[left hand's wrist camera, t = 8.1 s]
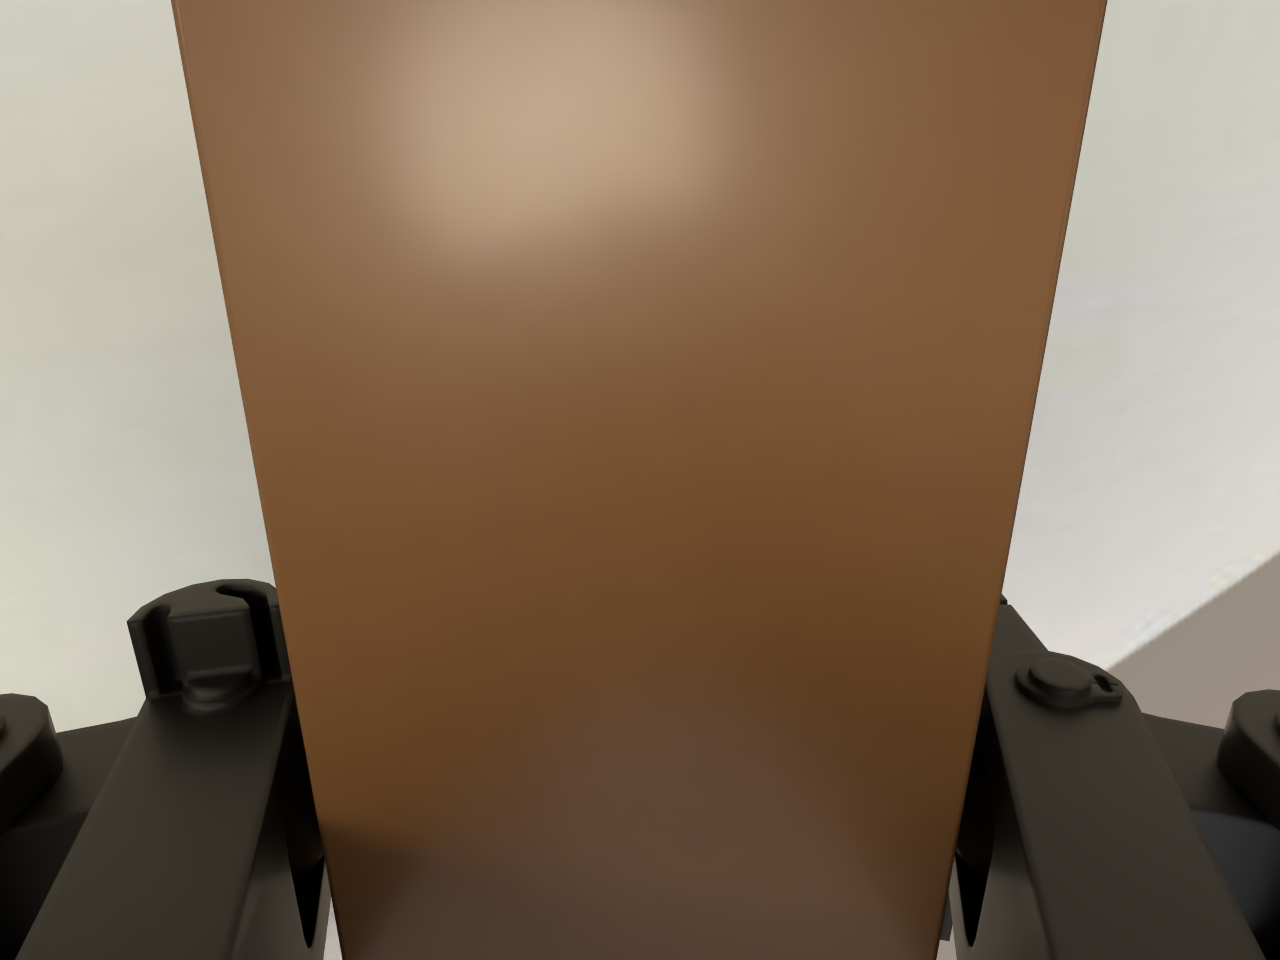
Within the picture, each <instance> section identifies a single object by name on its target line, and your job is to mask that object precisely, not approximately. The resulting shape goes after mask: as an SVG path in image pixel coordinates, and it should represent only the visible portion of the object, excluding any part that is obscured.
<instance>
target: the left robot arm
mask: <svg viewBox="0 0 1280 960" xmlns="http://www.w3.org/2000/svg"><path fill="white" fill-rule="evenodd" d="M127 625H128V629H129V633H130V636H131V640H132V644H133V648H134V652H135V656H136V660H137V664H138V668H139V672H140V675H141V679H142V683H143V687H144V691H145V695H146V700H145V702H144V704H143V706H142V708H141V710H140V712H139V714H138V716H137V717H133V718H129V719H125V720H121V721H117V722H111V723H106V724H101V725H96V726H90V727H85V728H80V729H75V730H69V731H64V732H59V733H56V732H55V729H54V725H53V722H52V719H51V716H50V712H49V709H48V706H47V705H45V704H44V703H43V702H41V701H40V700H39V699H37V698H36V697H34V696H27V695H20V694H12V693H11V694H1V695H0V960H323V957H324V949H325V941H326V933H327V924H328V916H329V908H330V900H331V892H330V886H329V881H328V875H327V869H326V864H325V858H324V853H323V847H322V841H321V836H320V830H319V825H318V819H317V814H316V808H315V802H314V797H313V791H312V786H311V780H310V774H309V769H308V763H307V758H306V752H305V746H304V741H303V735H302V730H301V724H300V719H299V713H298V707H297V702H296V696H295V691H294V685H293V679H292V674H291V668H290V663H289V657H288V651H287V646H286V640H285V635H284V629H283V624H282V618H281V612H280V607H279V601H278V596H277V590H276V588H275V587H273V586H272V585H271V584H269V583H265V582H260V581H256V580H251V579H222V580H216V581H210V582H205V583H199V584H194V585H190V586H187V587H184V588H182V589H179V590H176V591H173V592H170V593H167V594H164V595H162V596H161V597H159V598H157V599H155V600H153V601H151V602H150V603H148V604H146V605H144V606H142V607H141V608H140V609H139V610H138V611H137V612H136V613H135V614H134V615H133V616H132V617H131V618H130V619H129V620H128V621H127ZM952 924H953V931H954V939H955V947H956V955H957V960H1280V691H1279V690H1269V689H1268V690H1261V691H1254V692H1247V693H1245V694H1243V695H1242V696H1240V697H1239V698H1238V699H1236V700H1235V701H1234V702H1233V704H1232V707H1231V710H1230V713H1229V717H1228V720H1227V723H1226V726H1225V729H1220V728H1215V727H1210V726H1204V725H1199V724H1194V723H1188V722H1183V721H1178V720H1173V719H1167V718H1162V717H1158V716H1154V715H1150V714H1145V713H1142V712H1141V710H1140V708H1139V706H1138V704H1137V702H1136V700H1135V698H1134V697H1133V695H1132V694H1131V693H1130V692H1129V691H1128V690H1127V688H1126V687H1125V686H1124V685H1123V684H1122V682H1121V681H1120V680H1118V679H1117V678H1115V677H1113V676H1112V675H1110V674H1109V673H1107V672H1106V671H1104V670H1103V669H1101V668H1100V667H1098V666H1096V665H1093V664H1091V663H1088V662H1086V661H1083V660H1081V659H1078V658H1076V657H1073V656H1070V655H1065V654H1060V653H1055V652H1051V651H1048V650H1047V649H1046V647H1045V646H1044V645H1043V644H1042V642H1041V641H1040V640H1039V639H1038V638H1037V636H1036V635H1035V634H1034V633H1033V631H1032V630H1031V629H1030V628H1029V627H1028V625H1027V624H1026V623H1025V622H1024V620H1023V619H1022V618H1021V617H1020V615H1019V614H1018V613H1017V612H1016V611H1015V609H1014V608H1013V607H1012V606H1011V605H1007V599H1006V598H1005V597H1004V596H1003V595H1002V594H1001V599H1000V605H999V610H998V616H997V622H996V627H995V633H994V638H993V644H992V650H991V655H990V661H989V666H988V672H987V678H986V683H985V689H984V694H983V700H982V706H981V711H980V717H979V722H978V728H977V734H976V739H975V745H974V750H973V756H972V762H971V767H970V773H969V778H968V784H967V790H966V795H965V801H964V806H963V812H962V818H961V823H960V829H959V835H958V840H957V846H956V851H955V857H954V863H953V868H952V874H951V879H950V885H949V891H948V896H947V902H946V907H945V913H944V919H943V924H942V930H941V935H940V940H946V941H949V940H950V935H951V929H952Z"/></svg>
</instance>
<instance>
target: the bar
mask: <svg viewBox="0 0 1280 960" xmlns="http://www.w3.org/2000/svg"><path fill="white" fill-rule="evenodd" d="M171 3H172V9H173V14H174V20H175V26H176V31H177V37H178V42H179V48H180V54H181V59H182V65H183V70H184V76H185V82H186V87H187V93H188V98H189V104H190V109H191V115H192V121H193V126H194V132H195V137H196V143H197V149H198V154H199V160H200V165H201V171H202V177H203V182H204V188H205V193H206V199H207V204H208V210H209V216H210V221H211V227H212V232H213V238H214V244H215V249H216V255H217V260H218V266H219V272H220V277H221V283H222V288H223V294H224V299H225V305H226V311H227V316H228V322H229V327H230V333H231V339H232V344H233V350H234V355H235V361H236V367H237V372H238V378H239V383H240V389H241V394H242V400H243V406H244V411H245V417H246V422H247V428H248V434H249V439H250V445H251V450H252V456H253V461H254V467H255V473H256V478H257V484H258V489H259V495H260V501H261V506H262V512H263V517H264V523H265V529H266V534H267V540H268V545H269V551H270V556H271V562H272V568H273V573H274V579H275V584H276V590H277V596H278V601H279V607H280V612H281V618H282V624H283V629H284V635H285V640H286V646H287V651H288V657H289V663H290V668H291V674H292V679H293V685H294V691H295V696H296V702H297V707H298V713H299V719H300V724H301V730H302V735H303V741H304V746H305V752H306V758H307V763H308V769H309V774H310V780H311V786H312V791H313V797H314V802H315V808H316V814H317V819H318V825H319V830H320V836H321V841H322V847H323V853H324V858H325V864H326V869H327V875H328V881H329V886H330V892H331V897H332V903H333V908H334V914H335V920H336V925H337V931H338V936H339V942H340V948H341V953H342V959H343V960H936V958H937V952H938V947H939V941H940V935H941V930H942V924H943V919H944V913H945V907H946V902H947V896H948V891H949V885H950V879H951V874H952V868H953V863H954V857H955V851H956V846H957V840H958V835H959V829H960V823H961V818H962V812H963V806H964V801H965V795H966V790H967V784H968V778H969V773H970V767H971V762H972V756H973V750H974V745H975V739H976V734H977V728H978V722H979V717H980V711H981V706H982V700H983V694H984V689H985V683H986V678H987V672H988V666H989V661H990V655H991V650H992V644H993V638H994V633H995V627H996V622H997V616H998V610H999V605H1000V599H1001V594H1002V588H1003V582H1004V577H1005V571H1006V566H1007V560H1008V554H1009V549H1010V543H1011V538H1012V532H1013V526H1014V521H1015V515H1016V510H1017V504H1018V498H1019V493H1020V487H1021V481H1022V476H1023V470H1024V465H1025V459H1026V453H1027V448H1028V442H1029V437H1030V431H1031V425H1032V420H1033V414H1034V409H1035V403H1036V397H1037V392H1038V386H1039V381H1040V375H1041V369H1042V364H1043V358H1044V353H1045V347H1046V341H1047V336H1048V330H1049V325H1050V319H1051V313H1052V308H1053V302H1054V297H1055V291H1056V285H1057V280H1058V274H1059V269H1060V263H1061V257H1062V252H1063V246H1064V241H1065V235H1066V229H1067V224H1068V218H1069V213H1070V207H1071V201H1072V196H1073V190H1074V185H1075V179H1076V173H1077V168H1078V162H1079V156H1080V151H1081V145H1082V140H1083V134H1084V128H1085V123H1086V117H1087V112H1088V106H1089V100H1090V95H1091V89H1092V84H1093V78H1094V72H1095V67H1096V61H1097V56H1098V50H1099V44H1100V39H1101V33H1102V28H1103V22H1104V16H1105V11H1106V5H1107V0H171Z"/></svg>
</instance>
